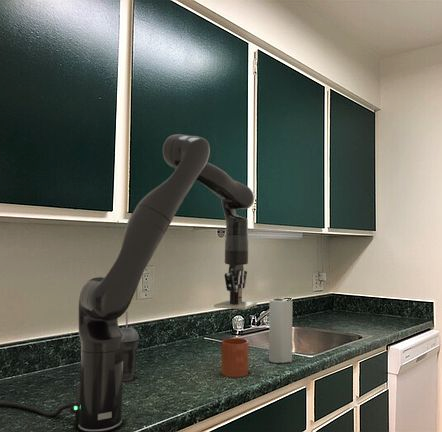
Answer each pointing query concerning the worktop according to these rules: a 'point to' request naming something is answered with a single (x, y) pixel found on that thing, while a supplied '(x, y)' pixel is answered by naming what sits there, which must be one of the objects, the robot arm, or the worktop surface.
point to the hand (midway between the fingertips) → (235, 303)
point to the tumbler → (234, 357)
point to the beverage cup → (129, 350)
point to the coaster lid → (239, 303)
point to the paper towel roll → (280, 331)
